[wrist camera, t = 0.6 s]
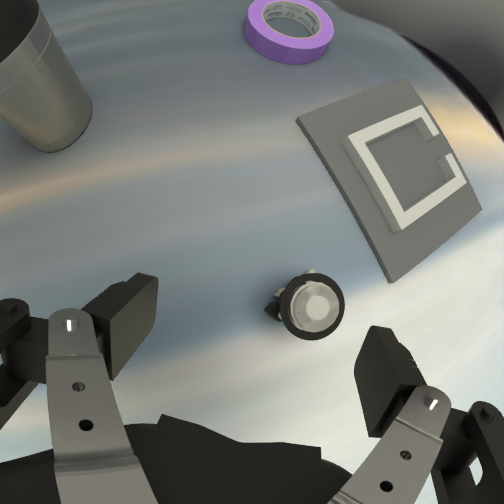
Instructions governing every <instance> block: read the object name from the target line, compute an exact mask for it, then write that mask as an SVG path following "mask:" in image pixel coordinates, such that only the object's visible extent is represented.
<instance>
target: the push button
mask: <svg viewBox="0 0 504 504" xmlns="http://www.w3.org/2000/svg"><path fill="white" fill-rule="evenodd" d="M311 281H315V282H311ZM274 296H277V297H278V300H277V301H276V302H273V303H270V304H269V305H268V306H267V307H266V308H265V310H264V311H265V312H267V313H268V314H269V315H270V316H271V317H272V318H273V319H275V320H276V321H277V322H278V323H279V324H281V325H283V326H284V325H285V327H286V328H287V329H288V330H289V331H290V332H291V333H292V334H293V335H295V336H297V337H298V338H301V339H304V340H319V339H322V338H324V337H326V336H328V335H330V334H331V333H332V332H333V331H334V330H335V329H336V328H337V327H338V326H339V324H340V322H341V320H342V318H343V314H344V309H345V302H344V296H343V293H342V291H341V289H340V287H339V286H338V284H337V283H336V282H335V281H334V280H333V279H331V278H330V277H328V276H326V275H323V274H319V273H316V272H315V271H314V270H308V272H307V273H306V274H304V275H301V276H297V277H295V278H294V279H293V280H292V281H291V282H290V283H289V284H288V285H287V287H286V288H282V287H281V288H280V289H279V290H278V291H277V292H276V293H275V294H274ZM292 322H293V323H295V324H296V325H297V326H299V327H300V328H301V329H302V330H300V329H298V328H297V327H296V326H295V325H294V324H293V323H292Z"/></svg>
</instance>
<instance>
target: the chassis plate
mask: <svg viewBox="0 0 504 504" xmlns="http://www.w3.org/2000/svg"><path fill="white" fill-rule="evenodd" d="M296 121H297V123H298V124H299V126H300V127H301V129H302V131H303V132H304V134H305V135H306V137H307V138H308V140H309V141H310V143H311V144H312V146H313V148H314V149H315V151H316V152H317V154H318V155H319V157H320V159H321V160H322V162H323V164H324V165H325V167H326V168H327V170H328V172H329V173H330V175H331V177H332V178H333V180H334V182H335V183H336V185H337V187H338V188H339V190H340V192H341V194H342V195H343V197H344V199H345V201H346V202H347V204H348V206H349V208H350V209H351V211H352V213H353V215H354V217H355V218H356V220H357V222H358V224H359V226H360V227H361V229H362V231H363V233H364V235H365V237H366V239H367V241H368V242H369V244H370V246H371V248H372V250H373V252H374V254H375V256H376V258H377V260H378V262H379V264H380V266H381V268H382V270H383V272H384V274H385V276H386V278H387V280H388V282H389V283H394V282H396V281H397V280H398V279H400V278H401V277H402V276H403V275H405V274H406V273H407V272H409V271H410V270H411V269H412V268H414V267H415V266H416V265H418V264H419V263H420V262H421V261H423V260H424V259H425V258H426V257H428V256H429V255H430V254H431V253H433V252H434V251H435V250H436V249H437V248H439V247H440V246H441V245H442V244H443V243H445V242H446V241H447V240H448V239H449V238H451V237H452V236H453V235H454V234H455V233H456V232H458V231H459V230H460V229H461V228H462V227H463V226H464V225H466V224H467V223H468V222H469V221H470V220H471V219H472V218H474V217H475V216H476V215H477V214H478V213H479V212H480V211H481V210H482V208H481V205H480V203H479V201H478V199H477V197H476V195H475V192H474V190H473V188H472V186H471V184H470V182H469V180H468V178H467V176H466V174H465V172H464V170H463V168H462V166H461V164H460V162H459V161H458V159H457V157H456V155H455V153H454V151H453V150H452V148H451V146H450V144H449V143H448V141H447V139H446V137H445V136H444V134H443V132H442V131H441V129H440V127H439V126H438V124H437V123H436V121H435V119H434V118H433V116H432V115H431V113H430V112H429V110H428V109H427V107H426V105H425V104H424V102H423V101H422V100H421V98H420V97H419V95H418V94H417V92H416V91H415V89H414V88H413V87H412V85H411V84H410V82H409V81H408V80H407V78H406V79H403V80H399V81H396V82H393V83H390V84H387V85H384V86H380V87H377V88H374V89H371V90H368V91H365V92H362V93H360V94H357V95H354V96H351V97H348V98H345V99H343V100H340V101H337V102H334V103H332V104H329V105H326V106H324V107H321V108H319V109H316V110H313V111H311V112H308V113H306V114H303V115H301V116H298V118H297V119H296Z"/></svg>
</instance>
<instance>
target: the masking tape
mask: <svg viewBox="0 0 504 504" xmlns="http://www.w3.org/2000/svg"><path fill="white" fill-rule="evenodd" d="M277 17H279V18H289V19H292V20H295V21H297V22H299V23H301V24H302V25H304V26H305V27H306V28H307V29H308V30H309V31H310V33H311V35H312V36H310V37H305V38H296V37H290V36H287V35H284V34H281V33H279V32H277V31H275V30H274V29H272V28H271V27H270V26H269V25H268V24H267V23H266V20H268V19H271V18H277ZM333 34H334V27H333V23H332V21H331V19H330V17H329V16H328V15H327V13H326V12H325V11H324V10H323V9H321V8H320V7H319V6H317V5H316V4H314V3H313V2H311V1H309V0H255V1H254V2H253V3H252V4H251V5H250V7H249V9H248V14H247V19H246V24H245V36H246V39H247V41H248V42H249V44H250V45H251V46H252V47H253V48H254V49H255V50H256V51H257V52H259V53H260V54H262V55H263V56H265V57H267V58H269V59H272V60H274V61H277V62H281V63H286V64H305V63H309V62H312V61H314V60H316V59H318V58H319V57H320V56H321V55H322V54H323V53H324V51H325V49H326V48H327V46H328V44H329V42H330V41H331V39H332V37H333Z"/></svg>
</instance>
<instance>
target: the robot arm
mask: <svg viewBox="0 0 504 504" xmlns="http://www.w3.org/2000/svg"><path fill="white" fill-rule="evenodd" d="M91 113H92V103H91V100H90V98H89V96H88V94H87V92H86V90H85V89H84V87H83V85H82V84H81V82H80V80H79V78H78V76H77V75H76V73H75V71H74V69H73V68H72V66H71V64H70V62H69V60H68V59H67V57H66V55H65V53H64V52H63V50H62V48H61V46H60V44H59V42H58V41H57V39H56V37H55V35H54V33H53V31H52V29H51V28H50V26H49V24H48V22H47V20H46V18H45V16H44V15H43V13H42V11H41V9H40V7H39V4H38V2H37V0H0V117H1V118H2V119H4V120H5V121H6V122H7V123H8V124H9V125H10V126H12V127H13V128H14V129H15V130H16V131H17V132H18V133H20V134H21V135H22V136H23V137H24V138H25V139H26V140H28V141H29V142H30V143H31V144H32V145H33V146H35V147H36V148H37V149H39V150H41V151H44V152H54V151H58V150H61V149H63V148H65V147H67V146H69V145H70V144H71V143H73V142H74V141H75V140H76V139H77V138H78V137H79V136H80V135H81V134H82V133H83V131H84V130H85V128H86V127H87V125H88V123H89V120H90V117H91ZM157 293H158V278H157V277H154V276H150V275H146V274H142V273H137V274H135V275H134V276H133V277H132V278H130V279H129V280H128V281H127V282H124V281H122V282H119V283H116V284H113V285H111V286H109V287H108V288H107V289H106V290H104V292H102V293H101V294H99V295H98V297H96V298H94V299H93V300H92V301H91V302H89V303H88V304H87V305H86V306H84V307H83V308H82V309H81V310H80V309H74V308H67V309H61V310H58V311H56V312H54V313H53V314H52V315H51V316H50V318H49V320H48V319H42V318H36V317H31V316H30V312H29V306H28V304H27V303H26V302H25V301H23V300H20V299H14V298H9V299H3V300H0V354H1V357H2V361H3V363H2V364H1V365H0V430H1V429H2V427H3V426H4V425H5V424H6V422H7V421H8V420H9V419H10V417H11V416H12V415H13V414H14V412H15V411H16V410H17V409H18V407H19V406H20V405H21V404H22V403H23V401H24V400H25V399H26V398H27V397H28V395H29V394H30V393H31V392H32V391H33V389H34V388H35V387H36V386H37V385H38V383H42V384H47V398H48V410H49V420H50V429H51V437H52V444H53V449H50V450H46V451H43V452H40V453H36V454H33V455H29V456H25V457H22V458H18V459H14V460H10V461H6V462H2V463H0V504H414V503H415V501H416V499H417V497H418V495H419V494H420V492H421V490H422V488H423V486H424V484H425V482H426V479H427V477H428V475H429V473H430V472H431V476H432V480H433V484H434V488H435V492H436V496H437V500H438V504H504V417H503V416H502V414H501V412H500V411H499V410H498V409H497V408H496V407H495V406H493V405H492V404H490V403H487V402H484V401H477V402H475V403H473V405H472V406H471V408H470V409H469V411H468V412H465V411H461V410H457V409H454V408H451V401H450V399H449V398H448V396H447V395H446V394H445V393H444V392H442V391H441V390H439V389H437V388H435V387H432V386H428V385H427V384H426V382H425V380H424V378H423V376H422V374H421V372H420V370H419V368H417V365H416V363H415V361H413V360H414V359H413V357H412V355H411V353H410V352H409V350H408V349H407V348H406V347H404V346H403V345H402V344H401V343H399V342H398V340H397V338H396V337H395V335H394V333H393V331H392V329H391V328H385V327H379V326H374V325H373V326H371V327H370V328H369V330H368V332H367V335H366V337H365V340H364V342H363V345H362V347H361V350H360V352H359V354H358V357H357V359H356V362H355V366H354V377H355V381H356V385H357V389H358V393H359V397H360V401H361V405H362V409H363V414H364V418H365V422H366V427H367V431H368V436H369V437H375V438H381V440H380V441H379V442H378V444H377V445H376V446H375V448H374V449H373V450H372V452H371V453H370V454H369V456H368V457H367V458H366V459H365V461H364V462H363V463H362V464H361V466H360V467H359V468H358V469H357V471H356V472H355V473H354V474H353V475H352V474H351V473H349V472H348V471H347V470H345V469H343V468H342V467H340V466H338V465H336V464H334V463H332V462H329V461H327V460H324V459H321V447H315V446H306V445H299V444H291V443H285V442H272V443H242V442H237V441H235V440H232V439H230V438H228V437H225V436H223V435H221V434H219V433H216V432H214V431H212V430H210V429H208V428H206V427H203V426H201V425H198V424H195V423H191V422H187V421H184V420H180V419H177V418H173V417H170V416H167V415H164V414H162V415H161V417H160V419H159V421H158V423H157V424H144V423H141V424H129V425H123V422H122V419H121V416H120V413H119V410H118V407H117V404H116V401H115V397H114V394H113V391H112V387H111V384H110V380H111V381H113V380H114V379H115V377H116V376H117V375H118V373H119V372H120V371H121V369H122V368H123V367H124V365H125V364H126V363H127V361H128V360H129V359H130V357H131V356H132V355H133V353H134V352H135V351H136V349H137V348H138V347H139V345H140V344H141V343H142V341H143V340H144V339H145V337H146V336H147V335H148V333H149V332H150V331H151V329H152V327H153V325H154V321H155V317H156V305H157ZM477 456H478V459H479V461H480V464H481V466H482V470H483V474H482V478H481V480H480V482H479V483H478V484H477V485H475V482H474V479H473V476H472V473H471V470H470V468H469V466H470V465H471V463H472V462H473V461H474V460H475V459H476V458H477Z"/></svg>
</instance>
